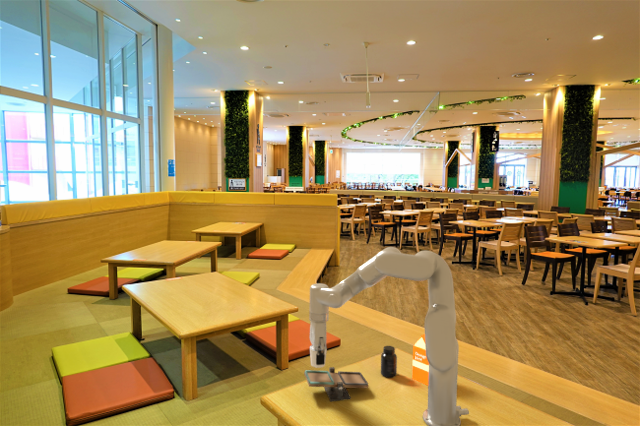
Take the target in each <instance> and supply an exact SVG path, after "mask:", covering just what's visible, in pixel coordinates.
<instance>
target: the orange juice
mask: <svg viewBox="0 0 640 426" xmlns="http://www.w3.org/2000/svg"><path fill="white" fill-rule="evenodd" d="M428 376H429V362H428V361H427V358H426V348H425V333H424V334H422V335H420V337H419V338H418V339H417V341H416V342H415V343H414V344H413V346H412V380H413V381H416V382H419V383H421V384H423V385H426V386H428Z"/></svg>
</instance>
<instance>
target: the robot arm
mask: <svg viewBox="0 0 640 426" xmlns="http://www.w3.org/2000/svg"><path fill="white" fill-rule="evenodd" d="M387 277H391V278H396V279H404V280H409V281H415V282H423V281H427V294H428V309H427V312H426V315H425V317H424V334H425V348H426V358H427V361H428V362H429V376H428V387H427V388H428V389H427V392H428V393H427V409H425V410H424V411H423V413H422V419H423V421H424V423H425V424H426V425H428V426H461V424H462V423H461V422H462V421H461V417H462V416H466V415H469V413H470V411H469V409H468V408H462V406H461V405H457V396H458V392H457V391H458V372H459V371H458V367H459V352H460V351H459V347H460V346H459V341H458V339H457V337H456V323H457V313H456V312H457V311H456V303H455V302H456V301H455V292H454V291H455V290H454V279H453V274H452V270H451V268H450V266H449V264H448V263H447V262H446V260H445V259H444V258H443V257H442V256H441V255H439V254H438V253H436V252H434V251H431V250H427V249H426V250H421V251H418V252H417V253H415V254H407V253H403V252H401V251H400V249H398V248H397V247H395V246H388V247H385V248H384V249H382V250H381V251H379V252H378V253H376V254H375V255H374V256H373V257H371V258H370V259H368V260H367V261H365V262H364V263H362V264H361V265H360V266H359V267H357V269H356V270H355V271H354V272H353V273H351V274H350V275H349V276H347V277H346V278H345V279H343V280H342V281H340V282H338V283H337V284H335V285H334V286H332V287H329V286H328V285H327V284H325V283H321V282H320V283H319V282H317V283H312V284H311V285H310V286H309V308H308V309H309V312H308V313H309V316H308V319H309V322H310V323H309V324H310V325H309V341H310V343H311V345H313V347H314V348H316V347H317V354H316V364H317V365H323V364H324V363H325V364H326V361H325V348H324V347H327V322H328V321H329V319H330V318H329V313H330V310H329V308H332V309H338V308H342V306H343V305H345V304H346V303H347V302H348V301H349V300H351V299H352V298H354V297H355V296H356V295H358V294H359V293H361V292H362V291H364V290H366V289H367V288H372V287H373V286H375V285H376V284H378V283H380V282H381V281H383V280H384V279H385V278H387ZM318 345H320V346H318ZM319 348H321V349H320V350H319Z"/></svg>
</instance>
